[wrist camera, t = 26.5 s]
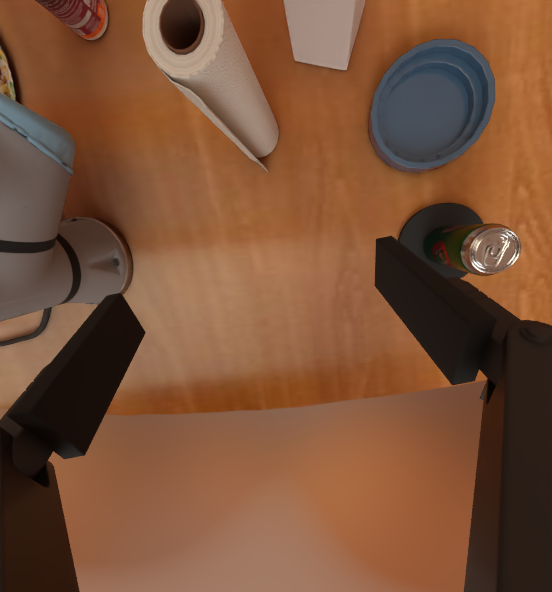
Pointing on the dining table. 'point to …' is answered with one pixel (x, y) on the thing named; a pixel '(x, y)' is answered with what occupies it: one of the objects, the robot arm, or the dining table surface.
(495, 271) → the soda can
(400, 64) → the dish
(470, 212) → the coaster
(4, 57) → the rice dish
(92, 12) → the pill bottle
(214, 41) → the paper towel roll
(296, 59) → the milk carton
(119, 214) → the dining table surface
